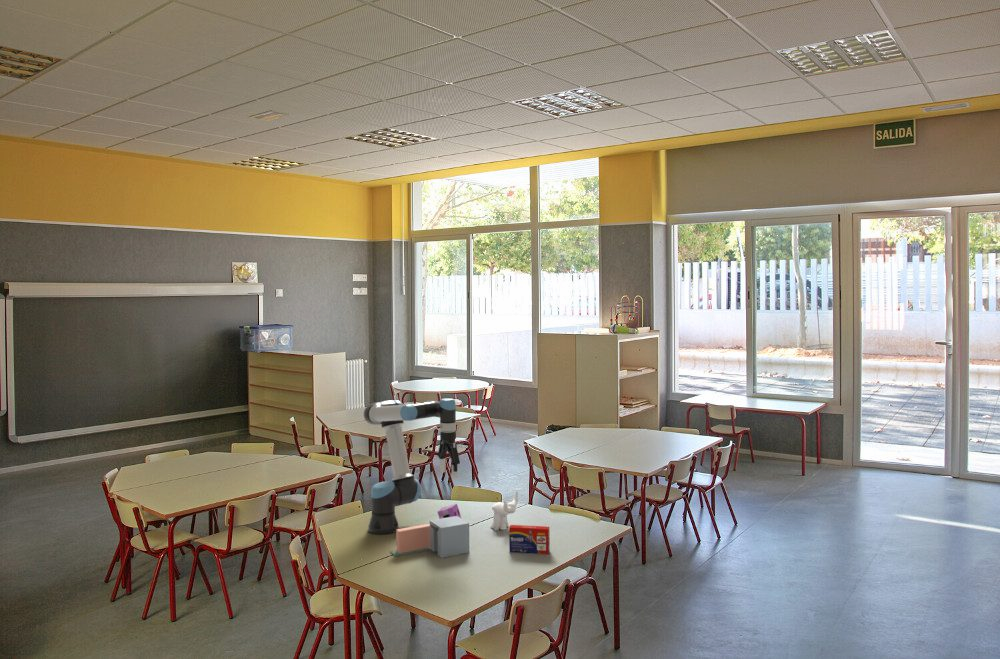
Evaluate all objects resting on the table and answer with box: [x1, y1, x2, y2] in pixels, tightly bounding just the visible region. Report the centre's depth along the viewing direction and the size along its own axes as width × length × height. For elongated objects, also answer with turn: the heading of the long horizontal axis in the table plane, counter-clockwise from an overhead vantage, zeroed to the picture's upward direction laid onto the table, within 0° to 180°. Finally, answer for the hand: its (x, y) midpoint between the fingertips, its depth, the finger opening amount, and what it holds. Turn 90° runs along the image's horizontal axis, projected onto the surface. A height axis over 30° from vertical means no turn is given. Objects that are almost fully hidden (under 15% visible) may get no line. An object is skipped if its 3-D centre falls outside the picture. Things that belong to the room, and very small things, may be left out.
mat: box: [389, 547, 431, 557], centre depth 337 cm, size 6×17×1 cm, turn 119°
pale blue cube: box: [429, 516, 470, 559], centre depth 336 cm, size 13×15×14 cm
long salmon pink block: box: [395, 523, 430, 553], centre depth 338 cm, size 4×16×10 cm, turn 120°
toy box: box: [508, 524, 551, 555], centre depth 334 cm, size 18×4×12 cm, turn 79°
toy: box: [437, 503, 463, 519], centre depth 358 cm, size 11×8×15 cm
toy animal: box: [490, 490, 519, 531], centre depth 369 cm, size 20×12×17 cm, turn 161°
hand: (448, 475), depth 350 cm, fingers open, 13 cm apart
